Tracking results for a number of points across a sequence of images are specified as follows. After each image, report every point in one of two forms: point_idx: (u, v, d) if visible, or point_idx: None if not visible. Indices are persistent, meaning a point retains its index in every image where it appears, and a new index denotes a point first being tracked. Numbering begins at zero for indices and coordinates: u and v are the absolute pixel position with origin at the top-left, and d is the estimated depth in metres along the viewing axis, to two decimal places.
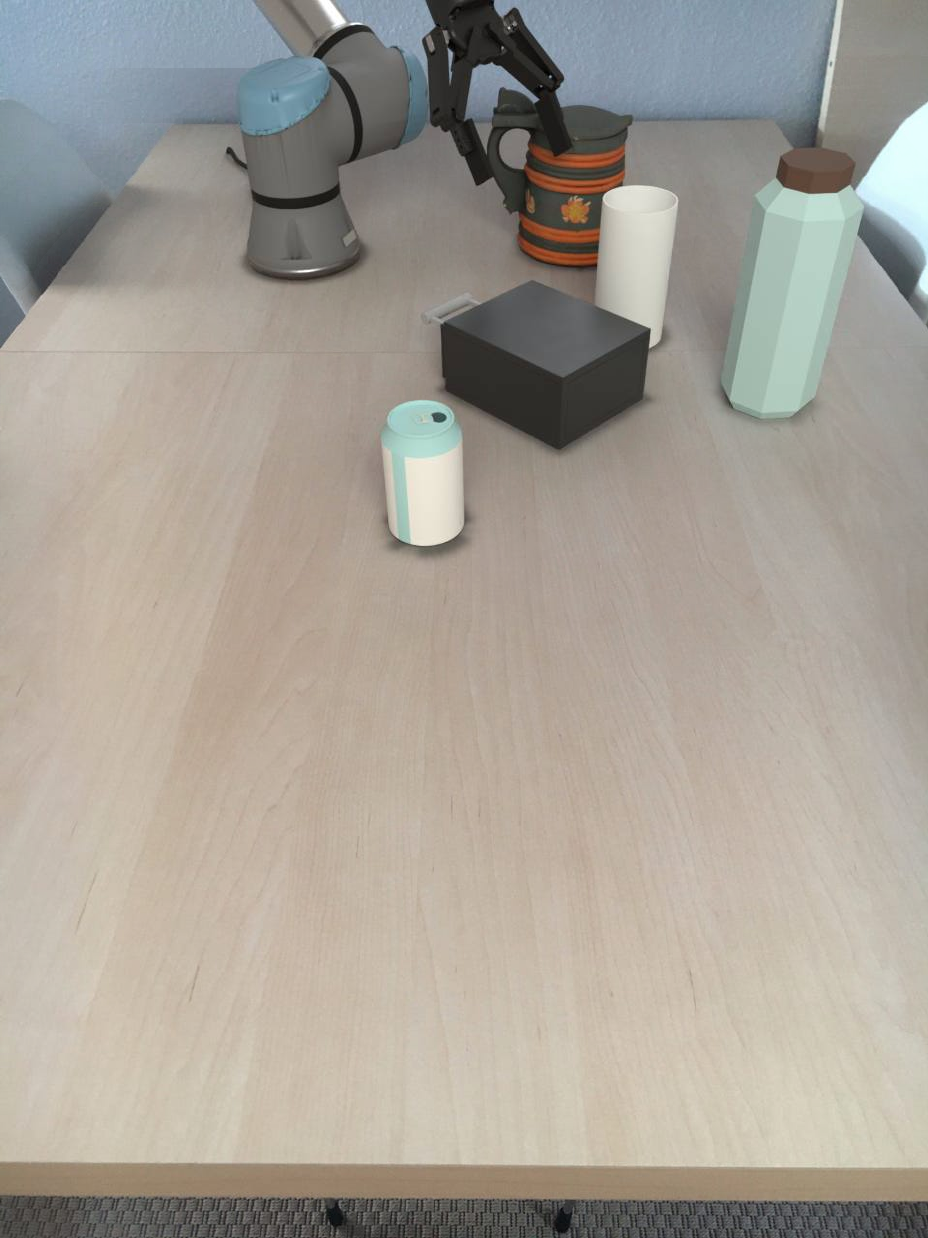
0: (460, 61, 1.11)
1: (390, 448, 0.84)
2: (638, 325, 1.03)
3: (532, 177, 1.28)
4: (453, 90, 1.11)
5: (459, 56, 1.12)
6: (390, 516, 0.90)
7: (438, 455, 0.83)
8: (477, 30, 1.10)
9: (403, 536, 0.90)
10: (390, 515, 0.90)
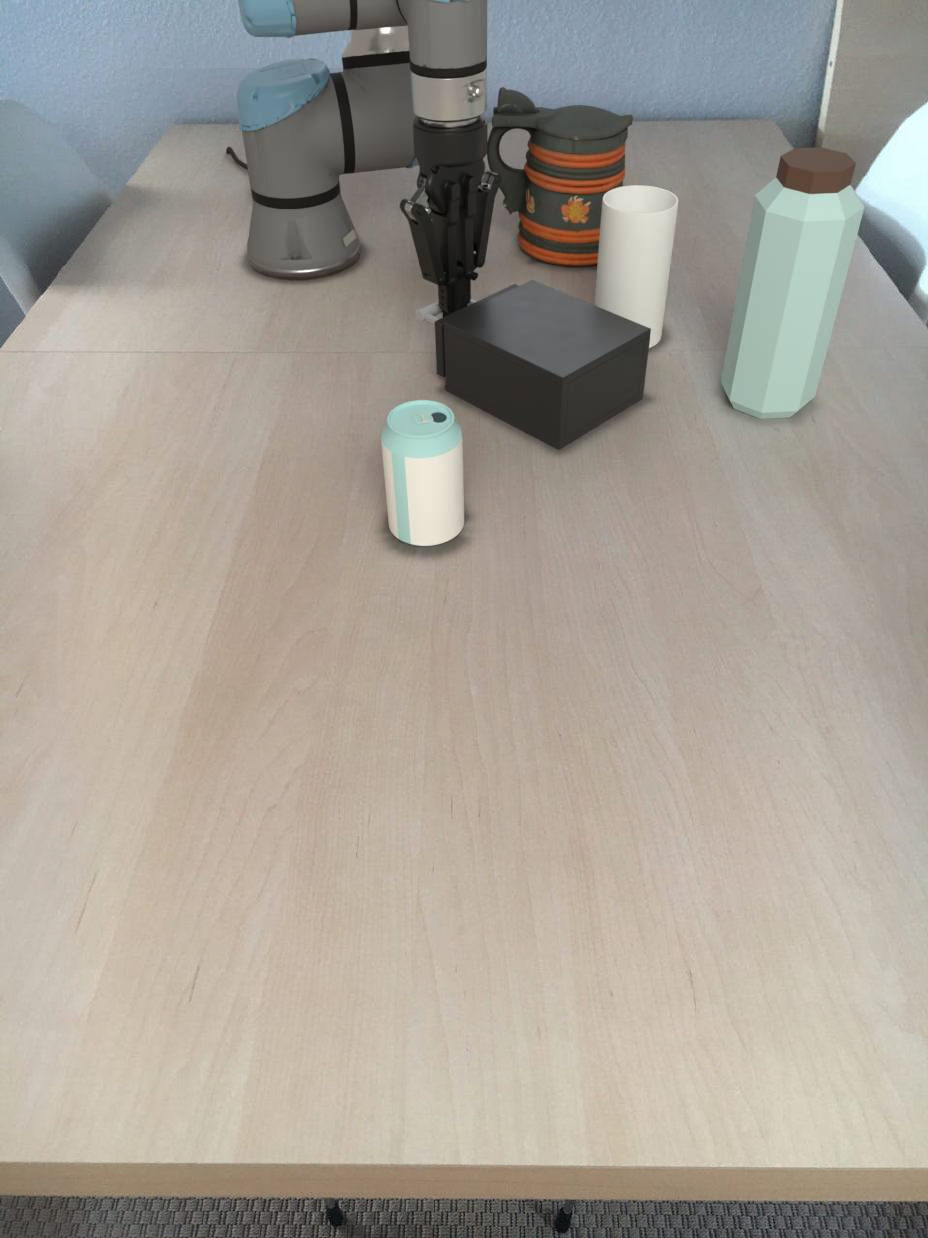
0: (441, 219, 1.04)
1: (390, 448, 0.84)
2: (638, 325, 1.03)
3: (532, 177, 1.28)
4: (439, 249, 1.07)
5: (428, 202, 1.03)
6: (390, 516, 0.90)
7: (438, 455, 0.83)
8: (455, 190, 1.01)
9: (403, 536, 0.90)
10: (390, 515, 0.90)
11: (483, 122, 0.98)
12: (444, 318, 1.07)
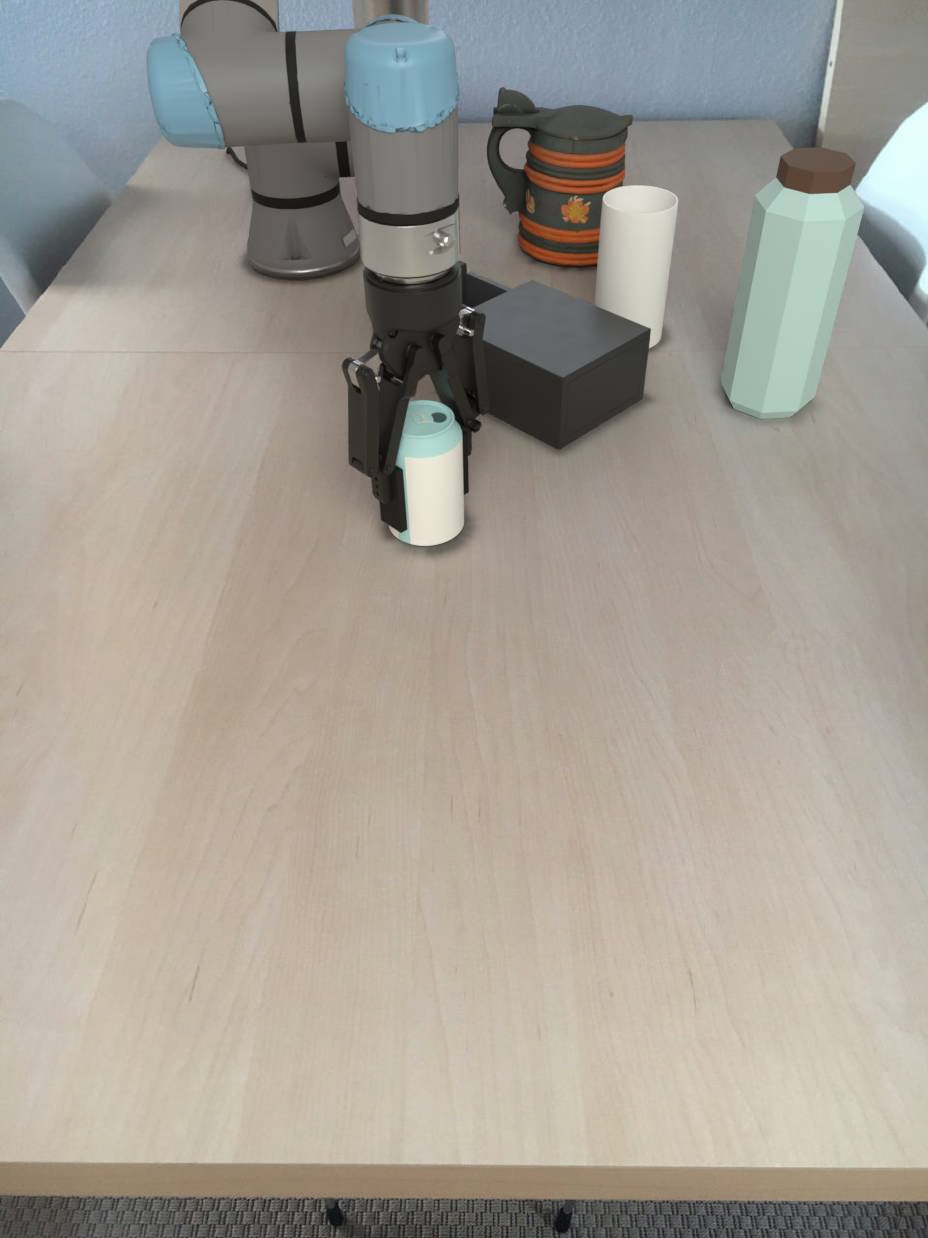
0: (393, 388, 0.80)
1: None
2: (638, 325, 1.03)
3: (532, 177, 1.28)
4: (380, 425, 0.82)
5: (385, 368, 0.79)
6: None
7: (438, 455, 0.83)
8: (420, 356, 0.78)
9: (403, 536, 0.90)
10: None
11: (455, 275, 0.74)
12: None
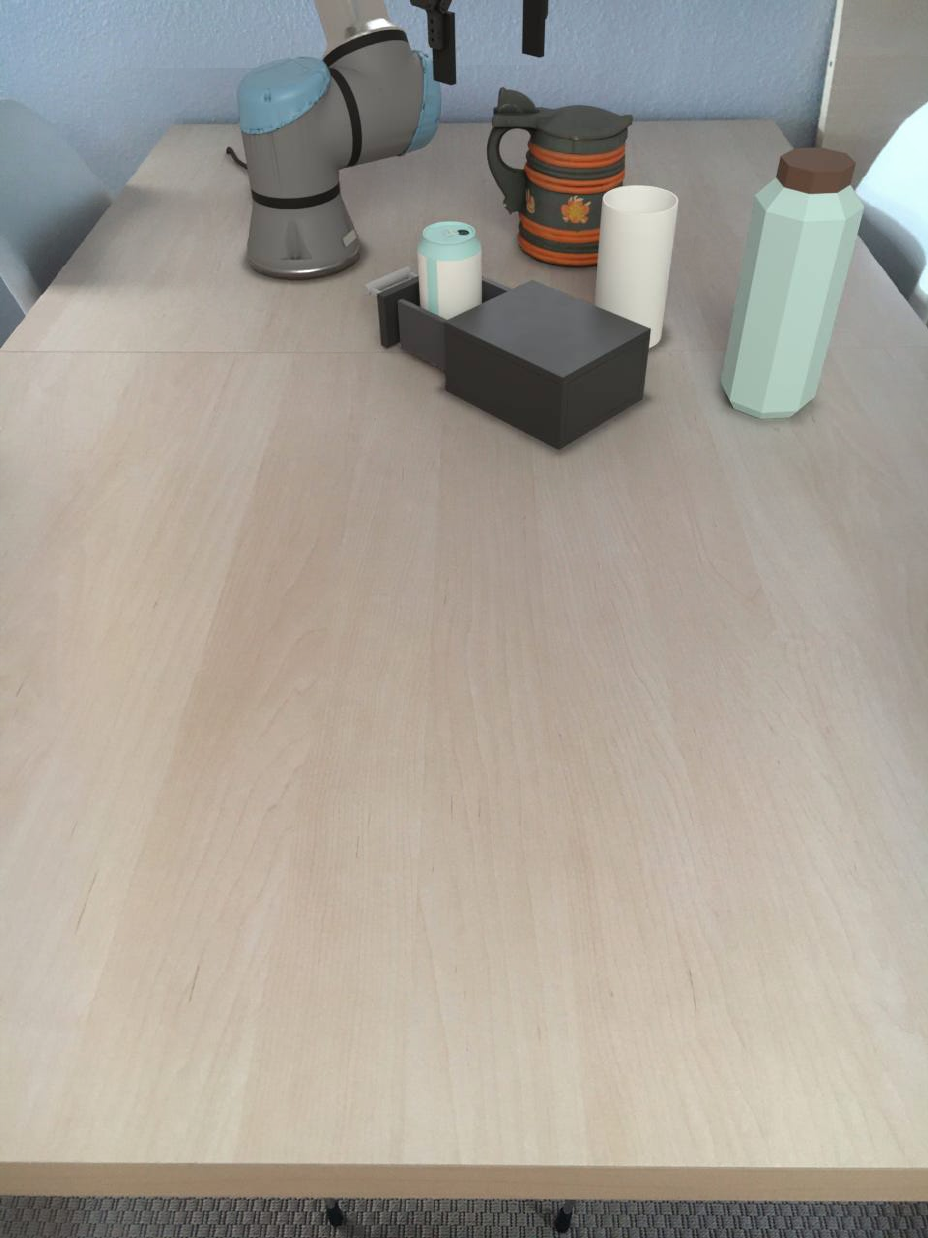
0: None
1: (425, 255, 1.06)
2: (638, 325, 1.03)
3: (532, 177, 1.28)
4: None
5: None
6: None
7: (463, 259, 1.06)
8: None
9: None
10: None
11: None
12: (386, 290, 1.12)
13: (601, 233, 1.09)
